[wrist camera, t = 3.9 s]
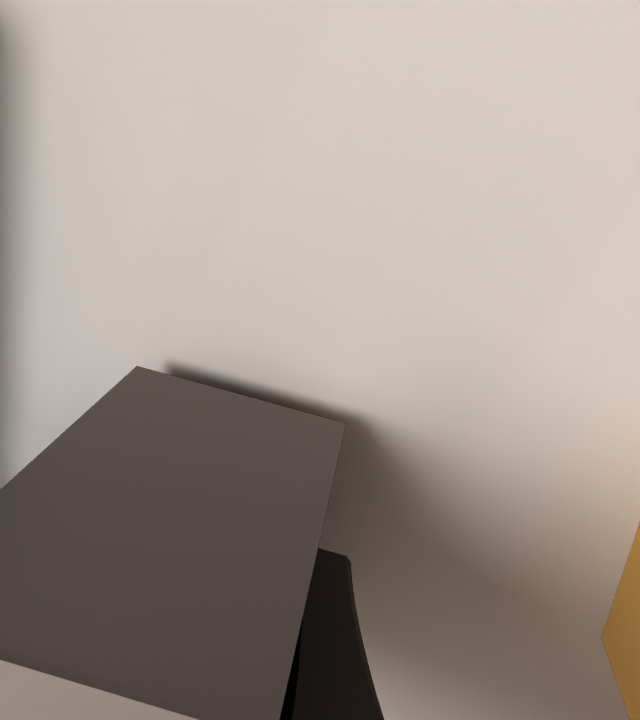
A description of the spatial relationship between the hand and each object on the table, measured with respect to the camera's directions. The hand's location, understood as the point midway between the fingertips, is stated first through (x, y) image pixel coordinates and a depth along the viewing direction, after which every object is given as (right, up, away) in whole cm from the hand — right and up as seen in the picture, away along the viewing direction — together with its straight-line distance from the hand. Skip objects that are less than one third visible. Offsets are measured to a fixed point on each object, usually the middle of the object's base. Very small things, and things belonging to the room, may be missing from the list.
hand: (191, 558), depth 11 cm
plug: (0, +1, +2) cm, 2 cm away
